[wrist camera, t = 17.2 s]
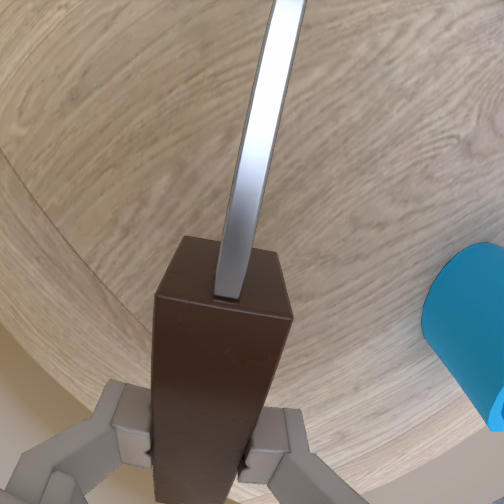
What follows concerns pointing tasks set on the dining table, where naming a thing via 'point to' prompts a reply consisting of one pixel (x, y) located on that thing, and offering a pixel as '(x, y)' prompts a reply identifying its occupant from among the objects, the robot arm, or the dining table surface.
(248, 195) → the butter knife
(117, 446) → the robot arm
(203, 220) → the dining table surface
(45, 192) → the dining table surface
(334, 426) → the dining table surface
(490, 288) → the mug
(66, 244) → the dining table surface
